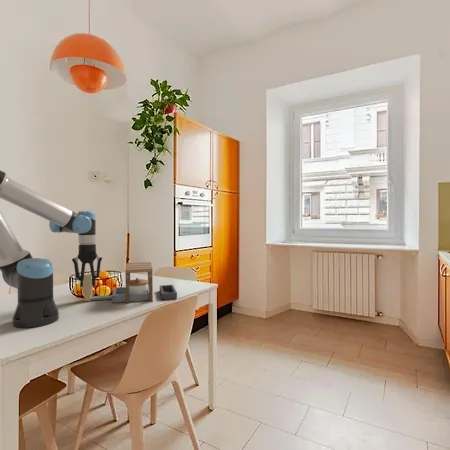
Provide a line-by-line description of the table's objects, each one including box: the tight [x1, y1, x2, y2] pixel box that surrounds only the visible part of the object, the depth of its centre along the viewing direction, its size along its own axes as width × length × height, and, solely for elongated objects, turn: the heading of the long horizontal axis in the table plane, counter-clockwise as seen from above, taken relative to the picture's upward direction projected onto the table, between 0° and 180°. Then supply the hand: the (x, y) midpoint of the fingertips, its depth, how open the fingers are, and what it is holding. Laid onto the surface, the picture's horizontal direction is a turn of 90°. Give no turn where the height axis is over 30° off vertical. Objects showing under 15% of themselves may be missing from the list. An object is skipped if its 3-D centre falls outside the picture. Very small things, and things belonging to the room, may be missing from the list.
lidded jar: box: [129, 277, 148, 294], centre depth 154 cm, size 11×11×9 cm
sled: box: [83, 273, 149, 303], centre depth 151 cm, size 16×30×12 cm, turn 106°
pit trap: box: [159, 284, 178, 301], centre depth 158 cm, size 18×7×3 cm, turn 16°
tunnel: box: [124, 261, 154, 304], centre depth 154 cm, size 21×12×16 cm, turn 16°
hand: (88, 293), depth 148 cm, fingers closed on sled, 2 cm apart
